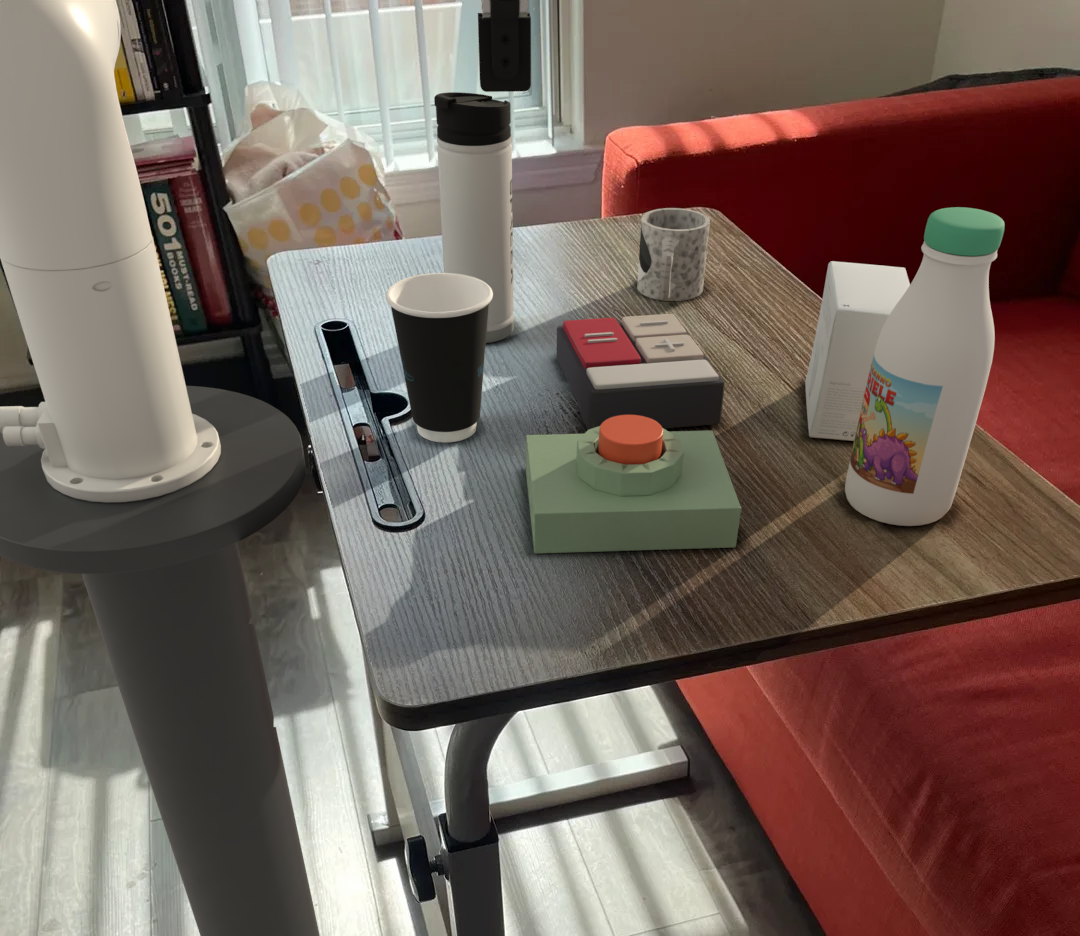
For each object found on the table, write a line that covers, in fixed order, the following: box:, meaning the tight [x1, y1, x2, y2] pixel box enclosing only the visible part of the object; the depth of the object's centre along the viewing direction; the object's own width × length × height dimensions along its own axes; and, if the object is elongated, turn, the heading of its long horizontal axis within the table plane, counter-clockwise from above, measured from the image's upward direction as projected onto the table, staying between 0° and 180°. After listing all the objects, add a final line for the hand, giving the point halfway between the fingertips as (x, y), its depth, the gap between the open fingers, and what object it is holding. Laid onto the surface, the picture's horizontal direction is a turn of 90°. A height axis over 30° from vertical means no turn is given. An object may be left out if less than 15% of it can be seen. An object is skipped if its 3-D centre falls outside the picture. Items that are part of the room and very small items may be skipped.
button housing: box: [525, 426, 742, 555], centre depth 79 cm, size 14×11×5 cm
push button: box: [598, 415, 663, 465], centre depth 77 cm, size 4×4×2 cm
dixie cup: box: [385, 272, 493, 443], centre depth 86 cm, size 8×8×11 cm
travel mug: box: [433, 91, 515, 344], centre depth 97 cm, size 6×7×20 cm
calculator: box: [556, 313, 726, 431], centre depth 93 cm, size 11×4×15 cm
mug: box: [636, 207, 711, 302], centre depth 108 cm, size 10×7×7 cm
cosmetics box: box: [804, 260, 911, 442], centre depth 88 cm, size 10×6×10 cm, turn 172°
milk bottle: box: [844, 206, 1006, 527], centre depth 75 cm, size 8×8×20 cm
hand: (505, 87), depth 71 cm, fingers closed
